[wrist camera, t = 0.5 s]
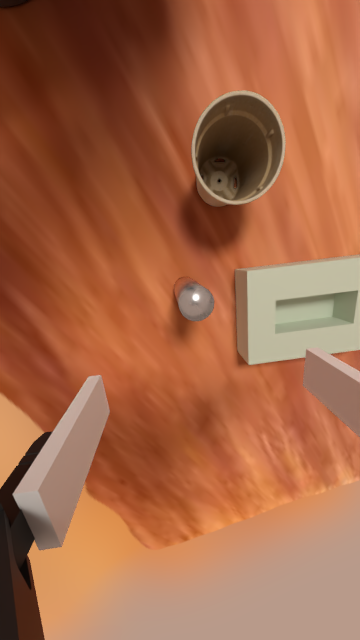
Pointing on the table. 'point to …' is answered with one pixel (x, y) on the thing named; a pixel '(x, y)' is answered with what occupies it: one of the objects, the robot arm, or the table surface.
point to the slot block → (298, 308)
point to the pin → (193, 299)
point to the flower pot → (237, 148)
